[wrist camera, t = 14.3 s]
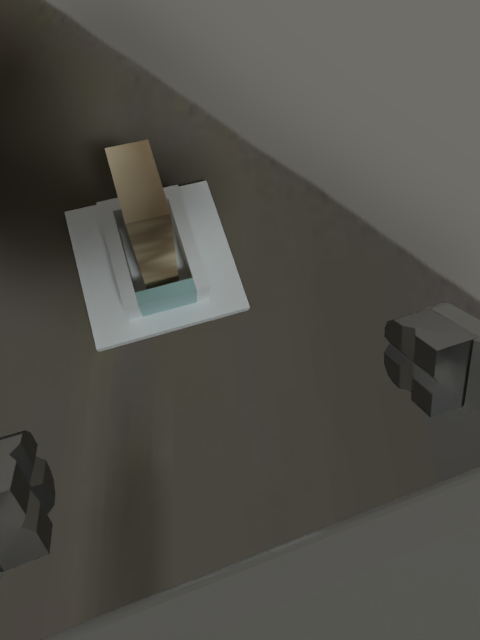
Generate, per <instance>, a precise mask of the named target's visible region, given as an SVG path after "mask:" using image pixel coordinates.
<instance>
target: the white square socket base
mask: <svg viewBox="0 0 480 640" xmlns="http://www.w3.org/2000/svg"><path fill="white" fill-rule="evenodd" d="M163 190H164V193H165V196H166V200H167V203H168V206H169V209H170V213H171V219H172V227H173V235H174V243H175V251H176V260H177V268H178V276H179V281H178V282H174V283H170V284H166V285H162V286H158V287H155V288H151V289H146V286H145V283H144V280H143V277H142V274H141V271H140V268H139V265H138V262H137V258H136V255H135V252H134V249H133V246H132V243H131V240H130V237H129V234H128V231H127V228H126V225H125V221H124V218H123V214H122V210H121V207H120V203H119V199H118V198H114V199H110V200H105V201H101V202H96V204H97V205H93V206H89V207H84V208H80V209H75V210H71V211H66V212H64V213H65V217H66V221H67V226H68V230H69V234H70V238H71V243H72V247H73V251H74V256H75V260H76V264H77V268H78V273H79V277H80V281H81V285H82V290H83V294H84V298H85V302H86V307H87V311H88V315H89V320H90V324H91V328H92V332H93V337H94V341H95V345H96V349H97V351H98V352H100V351H104V350H107V349H111V348H115V347H118V346H122V345H125V344H129V343H132V342H136V341H140V340H143V339H147V338H150V337H154V336H158V335H161V334H165V333H168V332H172V331H175V330H179V329H183V328H186V327H190V326H193V325H197V324H200V323H204V322H208V321H211V320H215V319H218V318H222V317H226V316H229V315H233V314H236V313H240V312H243V311H247V310H249V308H250V306H249V303H248V300H247V298H246V295H245V292H244V289H243V286H242V283H241V280H240V277H239V274H238V271H237V268H236V266H235V263H234V260H233V257H232V254H231V251H230V248H229V245H228V242H227V239H226V236H225V234H224V231H223V228H222V225H221V222H220V219H219V216H218V213H217V210H216V207H215V204H214V202H213V199H212V196H211V193H210V190H209V187H208V184H207V181H202V182H197V183H193V184H188V185H184V186H179V187H178V185H174V186H169V187H164V188H163Z"/></svg>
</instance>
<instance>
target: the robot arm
mask: <svg viewBox="0 0 480 640" xmlns="http://www.w3.org/2000/svg"><path fill="white" fill-rule="evenodd" d="M384 337H385V338H386V339H387V340H388V341H389V342H390V344H389V345H388V347H387V349H386V350H385V352H384V365H385V368H386V371H387V374H388V376H389V377H390V379H391V380H392V382H393V383H394V384H395V385H396V386H397V387H398V388H399V389H402V390H405V391H409V392H411V400H412V401H413V402H414V403H415V404H416V405H417V406H418V407H419V408H421V409H422V410H423V411H424V412H425V413H426V414H427V415H428V416H429V417H430V418H431V417H434V416H437V415H440V414H443V413H446V412H450V411H453V410H456V409H459V408H462V407H464V409H465V410H468V411H470V412H473V413H475V414H478V415H480V320H478V319H476V318H475V317H473V316H471V315H469V314H467V313H466V312H464V311H462V310H460V309H458V308H457V307H455V306H453V305H451V304H448V303H441V304H438V305H435V306H432V307H429V308H426V309H424V310H422V311H419V312H416V313H412V314H409V315H406V316H403V317H400V318H396V319H393V320H390V321H387V323H386V326H385V335H384ZM37 445H38V444H37V443H36V441H35V439H34V437H33V436H32V434H31V433H30V432H28V431H26V430H25V431H21V432H18V433H14V434H11V435H7V436H4V437H0V579H1V577H2V576H3V574H2V572H5V571H7V570H10V569H12V568H15V567H18V566H20V565H23V564H25V563H28V562H31V561H33V560H36V559H38V558H41V557H43V556H46V555H49V553H50V544H51V534H52V525H53V524H52V522H51V520H50V519H49V517H48V515H47V514H48V513H49V512H50V510H51V509H52V508H53V506H54V504H55V487H54V479H53V476H52V473H51V470H50V468H49V466H48V464H47V462H46V460H44V459H42V458H40V457H38V456H36V451H37ZM39 640H480V467H477V468H475V469H472V470H470V471H467V472H464V473H462V474H459V475H457V476H454V477H452V478H449V479H447V480H444V481H442V482H439V483H436V484H434V485H431V486H429V487H426V488H424V489H421V490H419V491H416V492H414V493H411V494H408V495H406V496H403V497H401V498H398V499H396V500H393V501H391V502H388V503H386V504H383V505H380V506H378V507H375V508H373V509H370V510H368V511H365V512H363V513H360V514H358V515H355V516H352V517H350V518H347V519H345V520H342V521H340V522H337V523H335V524H332V525H330V526H327V527H324V528H322V529H319V530H317V531H314V532H312V533H309V534H307V535H304V536H302V537H299V538H296V539H294V540H291V541H289V542H286V543H284V544H281V545H279V546H276V547H274V548H271V549H268V550H266V551H263V552H261V553H258V554H256V555H253V556H251V557H248V558H246V559H243V560H240V561H238V562H235V563H233V564H230V565H228V566H225V567H223V568H220V569H218V570H215V571H212V572H210V573H207V574H205V575H202V576H200V577H197V578H195V579H192V580H190V581H187V582H184V583H182V584H179V585H177V586H174V587H172V588H169V589H167V590H164V591H162V592H159V593H156V594H154V595H151V596H149V597H146V598H144V599H141V600H139V601H136V602H134V603H131V604H128V605H126V606H123V607H121V608H118V609H116V610H113V611H111V612H108V613H106V614H103V615H100V616H98V617H95V618H93V619H90V620H88V621H85V622H83V623H80V624H78V625H75V626H72V627H70V628H67V629H65V630H62V631H60V632H57V633H55V634H52V635H50V636H47V637H44V638H42V639H39Z"/></svg>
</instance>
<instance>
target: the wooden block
mask: <svg viewBox="0 0 480 640" xmlns="http://www.w3.org/2000/svg"><path fill="white" fill-rule="evenodd" d="M105 152H106V156H107V159H108V163H109V167H110V170H111V174H112V178H113V181H114V185H115V188H116V192H117V196H118V199H119V203H120V207H121V210H122V214H123V218H124V221H125V225H126V228H127V231H128V234H129V237H130V240H131V243H132V246H133V249H134V252H135V255H136V258H137V262H138V265H139V268H140V271H141V274H142V277H143V280H144V283H145V286H146V289H151V288H155V287H158V286H162V285H166V284H170V283H174V282H178V281H179V276H178V268H177V260H176V251H175V243H174V235H173V227H172V219H171V213H170V209H169V206H168V203H167V200H166V196H165V193H164V190H163V187H162V183H161V180H160V177H159V174H158V170H157V167H156V164H155V161H154V157H153V154H152V151H151V148H150V145H149V141H148V140H144V141H139V142H134V143H129V144H124V145H118V146H113V147H108V148H105Z"/></svg>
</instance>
